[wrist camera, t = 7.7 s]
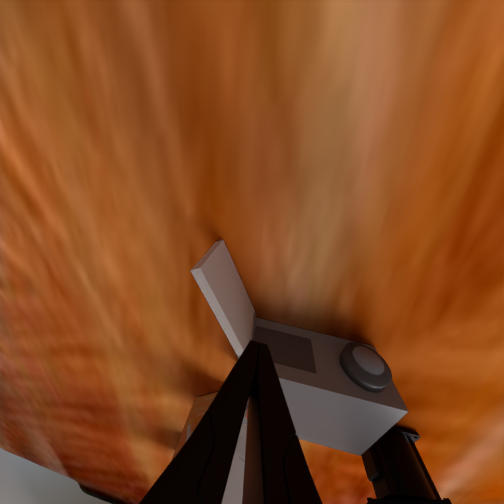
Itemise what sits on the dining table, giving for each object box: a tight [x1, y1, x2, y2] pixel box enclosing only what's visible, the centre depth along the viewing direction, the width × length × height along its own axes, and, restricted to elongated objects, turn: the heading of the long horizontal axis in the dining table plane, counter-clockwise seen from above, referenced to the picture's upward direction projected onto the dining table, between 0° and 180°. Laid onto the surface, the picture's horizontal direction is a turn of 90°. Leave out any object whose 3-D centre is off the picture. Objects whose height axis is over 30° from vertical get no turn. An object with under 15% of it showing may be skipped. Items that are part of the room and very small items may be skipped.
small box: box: [172, 392, 247, 504], centre depth 24 cm, size 8×6×13 cm
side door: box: [190, 240, 256, 359], centre depth 17 cm, size 10×1×6 cm, turn 20°
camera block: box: [242, 317, 409, 456], centre depth 19 cm, size 14×10×7 cm
